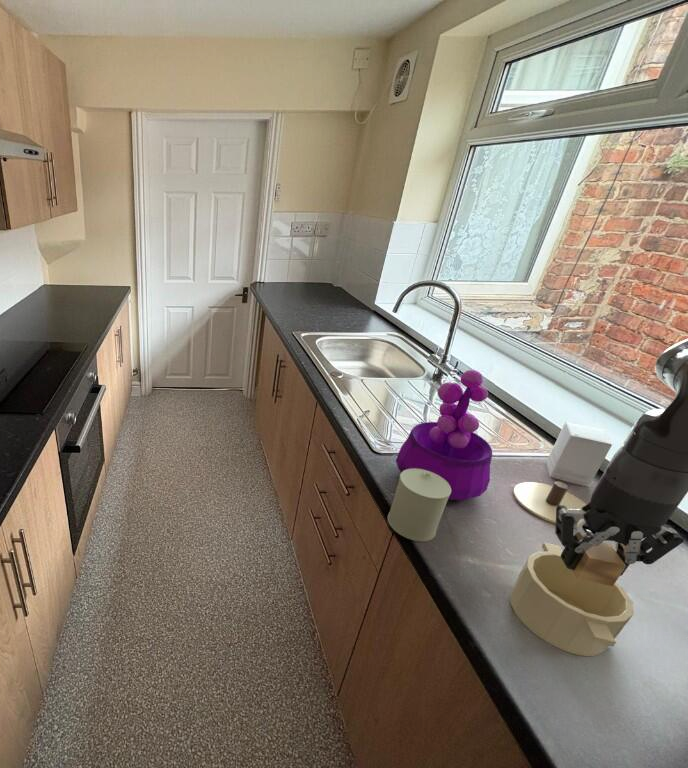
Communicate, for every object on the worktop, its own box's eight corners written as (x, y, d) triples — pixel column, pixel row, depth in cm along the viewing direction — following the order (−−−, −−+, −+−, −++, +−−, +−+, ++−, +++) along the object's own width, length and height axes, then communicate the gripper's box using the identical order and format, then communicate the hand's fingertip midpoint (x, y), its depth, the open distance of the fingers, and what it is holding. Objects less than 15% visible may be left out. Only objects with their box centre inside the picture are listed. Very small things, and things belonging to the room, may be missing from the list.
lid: (573, 493, 96) (585, 472, 93) (605, 537, 85) (619, 514, 82) (503, 480, 100) (512, 460, 98) (524, 520, 89) (535, 498, 86)
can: (437, 520, 89) (454, 476, 84) (433, 548, 83) (450, 503, 77) (391, 503, 94) (404, 460, 89) (383, 529, 87) (396, 485, 82)
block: (597, 563, 65) (610, 543, 63) (612, 586, 62) (627, 566, 60) (563, 555, 67) (574, 536, 65) (576, 578, 63) (589, 558, 61)
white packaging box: (588, 489, 97) (613, 445, 92) (548, 478, 101) (570, 435, 95) (582, 472, 103) (605, 429, 97) (544, 462, 106) (564, 420, 101)
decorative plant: (391, 495, 96) (425, 380, 83) (393, 452, 111) (421, 348, 98) (488, 521, 89) (542, 399, 75) (476, 471, 104) (519, 361, 90)
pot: (576, 583, 75) (597, 550, 71) (635, 686, 60) (666, 651, 56) (495, 564, 79) (511, 532, 75) (531, 657, 64) (553, 622, 60)
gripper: (591, 489, 55) (542, 576, 63) (735, 514, 51) (663, 604, 59) (565, 457, 62) (523, 539, 69) (691, 476, 57) (632, 563, 65)
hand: (588, 569), depth 64 cm, fingers closed on block, 4 cm apart
